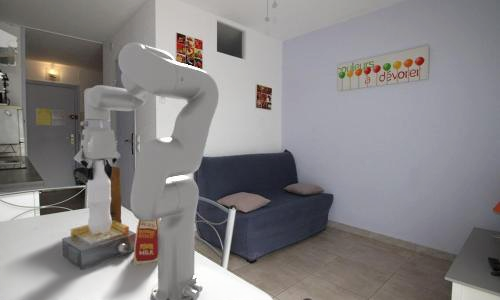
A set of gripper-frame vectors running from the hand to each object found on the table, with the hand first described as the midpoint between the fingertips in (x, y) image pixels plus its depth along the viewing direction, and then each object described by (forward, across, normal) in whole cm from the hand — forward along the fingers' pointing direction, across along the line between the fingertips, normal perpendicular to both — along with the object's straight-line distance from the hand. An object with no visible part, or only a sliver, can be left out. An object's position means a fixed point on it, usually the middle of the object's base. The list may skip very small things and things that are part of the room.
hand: (99, 177), depth 91 cm
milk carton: (+27, +9, -16) cm, 33 cm away
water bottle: (+19, 0, 0) cm, 19 cm away
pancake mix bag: (+27, +12, +20) cm, 36 cm away
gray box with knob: (+27, 0, -1) cm, 27 cm away
